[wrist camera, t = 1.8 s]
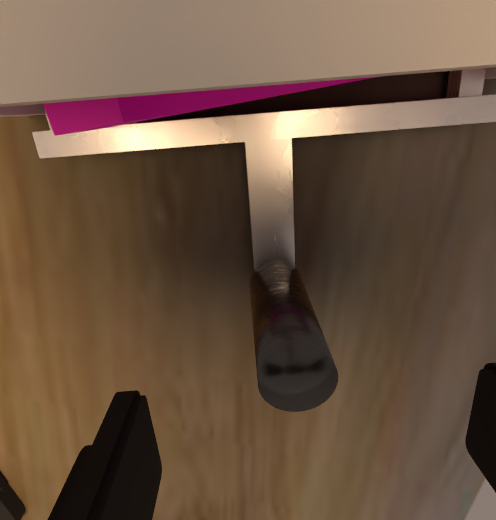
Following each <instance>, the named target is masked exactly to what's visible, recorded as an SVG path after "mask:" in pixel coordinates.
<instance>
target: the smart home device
mask: <svg viewBox="0 0 496 520" xmlns="http://www.w3.org/2000/svg"><path fill="white" fill-rule="evenodd" d="M24 513H25V506H24V504H23V503H22V501H21V500H20V499H19V497H18V496H17V495H16V493H15V492H14V491H13V489H12V488H11V487H10V485H9V484H8V483H7V481H6V480H5V479H4V478H3V476H2V475H1V474H0V520H21V518H22V516H23V515H24Z"/></svg>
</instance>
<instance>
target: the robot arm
mask: <svg viewBox="0 0 496 520" xmlns="http://www.w3.org/2000/svg"><path fill="white" fill-rule="evenodd" d="M465 442H466V447H467V450H468V452H469V454H470V456H471V457H472V459H473V460H474V462H475V463H476V465H477V466H478V467H479V469H480V470H481V472H482V473H483V475H484V476H485V478H486V479H487V481H488V482H489V483H490V485H491V486H492V488H493V489H494V490H495V492H496V363H488V364H486V365H485V366H484V369H481V370H480V371H479V375H478V380H477V385H476V390H475V395H474V400H473V405H472V410H471V415H470V420H469V425H468V430H467V435H466V441H465ZM161 474H162V465H161V460H160V455H159V451H158V447H157V442H156V438H155V433H154V429H153V425H152V420H151V416H150V411H149V407H148V403H147V399H146V396H144V395H143V396H140V393H139V392H138V391H124V392H117V393H116V394H115V395H114V397H113V400H112V402H111V404H110V406H109V409H108V411H107V413H106V415H105V417H104V420H103V422H102V424H101V426H100V429H99V431H98V433H97V435H96V438H95V440H94V442H93V444H92V445H88V446H85V447H84V448H83V449H82V450H81V452H80V453H79V455H78V457H77V459H76V461H75V463H74V465H73V467H72V470H71V472H70V474H69V476H68V478H67V480H66V482H65V484H64V486H63V489H62V491H61V493H60V495H59V497H58V499H57V501H56V503H55V505H54V507H53V510H52V512H51V514H50V516H49V518H48V520H152V517H153V513H154V508H155V504H156V499H157V494H158V490H159V485H160V480H161Z"/></svg>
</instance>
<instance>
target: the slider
mask: <svg viewBox="0 0 496 520" xmlns="http://www.w3.org/2000/svg"><path fill="white" fill-rule="evenodd" d="M485 73H486V68H479V69H466V70H454V71H449V79H448V86H447V94H446V98H437V99H424V100H412V101H400V102H387V103H375V104H363V105H350V106H338V107H325V108H313V109H301V110H288V111H276V112H263V113H251V114H239V115H226V116H214V117H201V118H189V119H177V120H164V121H152V122H139V123H131V124H124V125H118V126H113V127H108V128H102V129H95V130H89V131H83V132H76V133H70V134H63V135H57V136H55V135H54V133H53V130H52V127H51V125H50V122H49V119H48V116H47V114H46V117H47V120H48V124H49V128H50V130H46V131H37V132H32V134H33V138H34V141H35V145H36V148H37V151H38V155H39V158H52V157H64V156H76V155H89V154H101V153H113V152H126V151H138V150H151V149H163V148H175V147H188V146H200V145H212V144H225V143H237V142H245V154H246V168H247V181H248V195H249V208H250V222H251V235H252V249H253V262H254V272H253V274H252V276H251V279H250V294H251V306H252V318H253V330H254V343H255V355H256V367H257V379H258V388H259V391H260V393H261V395H262V397H263V398H264V400H265V401H266V402H267V403H269V404H270V405H272V406H273V407H275V408H278V409H280V410H284V411H291V412H299V411H305V410H309V409H312V408H315V407H317V406H319V405H321V404H322V403H324V402H325V401H326V400H327V399H328V398H329V397H330V396H331V395H332V394H333V392H334V390H335V388H336V386H337V382H338V373H337V369H336V366H335V364H334V361H333V359H332V356H331V353H330V351H329V348H328V346H327V343H326V341H325V338H324V335H323V333H322V330H321V328H320V325H319V323H318V320H317V318H316V315H315V312H314V310H313V307H312V305H311V302H310V300H309V297H308V294H307V292H306V289H305V287H304V284H303V282H302V279H301V276H300V274H299V272H298V270H297V269H296V268H295V248H294V208H293V169H292V138H299V137H311V136H324V135H336V134H349V133H361V132H373V131H386V130H398V129H410V128H423V127H435V126H448V125H460V124H472V123H485V122H496V94H495V95H482V91H483V85H484V79H485ZM43 106H44V105H43ZM44 109H45V108H44ZM45 113H46V111H45Z"/></svg>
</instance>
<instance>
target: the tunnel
mask: <svg viewBox="0 0 496 520" xmlns="http://www.w3.org/2000/svg"><path fill="white" fill-rule="evenodd" d="M479 68H486V73H485V79H491V78H496V0H0V117H11V116H33V115H45V114H46V113H45V109H44V106H43V104H44V103H57V102H69V101H82V100H94V99H106V98H119V97H131V96H144V95H156V94H169V93H181V92H193V91H206V90H218V89H231V88H243V87H255V86H268V85H280V84H293V83H305V82H317V81H330V80H342V79H355V78H367V77H379V76H392V75H404V74H417V73H429V72H442V71H454V70H466V69H479Z"/></svg>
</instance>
